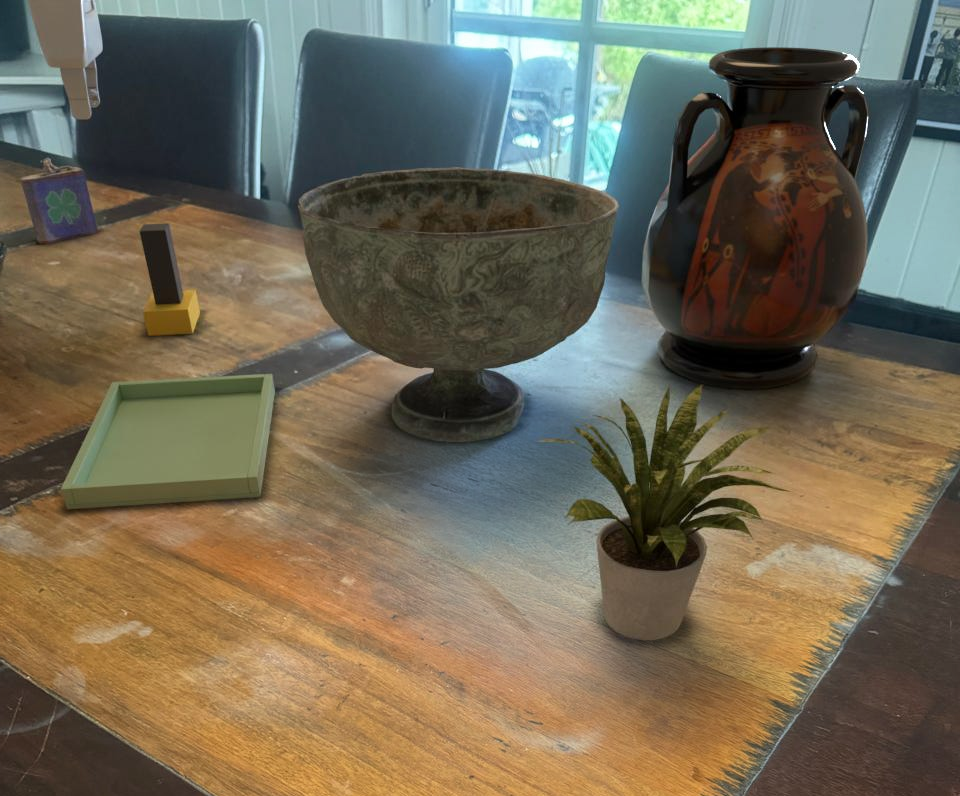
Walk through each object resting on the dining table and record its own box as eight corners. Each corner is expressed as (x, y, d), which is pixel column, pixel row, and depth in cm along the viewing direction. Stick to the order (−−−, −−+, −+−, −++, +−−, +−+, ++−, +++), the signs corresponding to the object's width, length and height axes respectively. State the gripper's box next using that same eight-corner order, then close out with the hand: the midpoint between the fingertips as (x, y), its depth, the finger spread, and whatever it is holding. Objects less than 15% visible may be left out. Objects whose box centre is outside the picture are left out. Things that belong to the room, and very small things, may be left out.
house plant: (587, 722, 57) (607, 480, 47) (493, 599, 67) (492, 378, 57) (781, 660, 61) (838, 427, 51) (665, 554, 71) (693, 341, 61)
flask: (42, 246, 137) (19, 165, 130) (34, 243, 138) (10, 162, 132) (102, 234, 142) (82, 155, 135) (93, 230, 144) (73, 152, 137)
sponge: (148, 337, 108) (125, 236, 101) (158, 316, 113) (136, 219, 106) (193, 335, 108) (173, 234, 101) (200, 314, 114) (181, 217, 107)
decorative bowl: (264, 440, 86) (237, 204, 73) (388, 347, 105) (383, 147, 92) (539, 502, 78) (560, 252, 66) (619, 390, 97) (647, 180, 85)
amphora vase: (778, 319, 110) (830, 37, 93) (882, 392, 94) (969, 65, 77) (604, 337, 106) (625, 46, 89) (680, 416, 90) (724, 78, 73)
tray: (67, 511, 77) (60, 489, 76) (117, 402, 94) (111, 382, 93) (260, 499, 78) (256, 476, 77) (275, 393, 95) (272, 373, 94)
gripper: (36, -55, 96) (65, 100, 104) (4, -58, 80) (41, 125, 88) (101, -52, 98) (125, 101, 106) (82, -54, 82) (112, 126, 90)
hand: (87, 112), depth 97 cm, fingers open, 8 cm apart
